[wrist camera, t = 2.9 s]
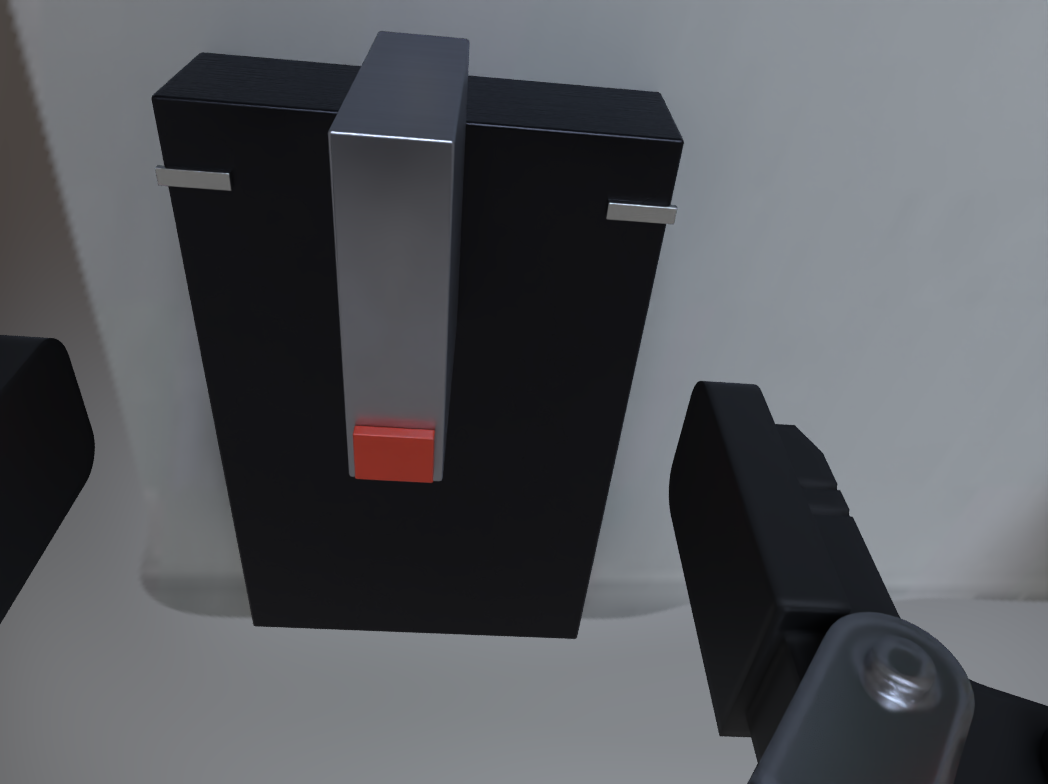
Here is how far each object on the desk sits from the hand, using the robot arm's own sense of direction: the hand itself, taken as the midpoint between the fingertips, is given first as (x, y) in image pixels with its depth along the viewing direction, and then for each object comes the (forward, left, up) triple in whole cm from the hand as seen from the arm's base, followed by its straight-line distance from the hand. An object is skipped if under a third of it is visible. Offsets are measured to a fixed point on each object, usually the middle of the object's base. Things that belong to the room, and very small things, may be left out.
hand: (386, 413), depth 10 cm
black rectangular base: (+2, -4, -10) cm, 11 cm away
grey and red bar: (0, 0, -7) cm, 7 cm away
